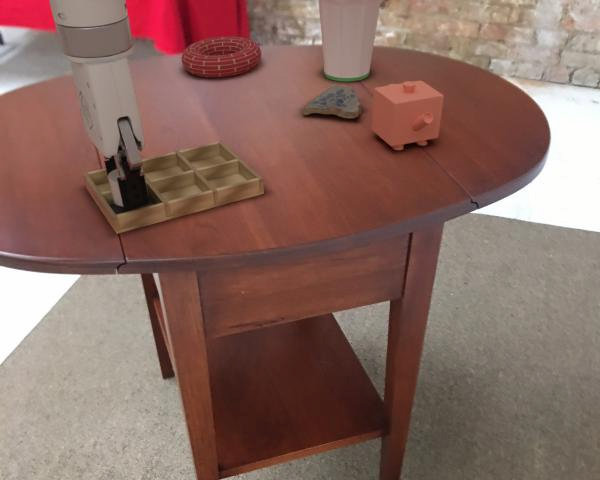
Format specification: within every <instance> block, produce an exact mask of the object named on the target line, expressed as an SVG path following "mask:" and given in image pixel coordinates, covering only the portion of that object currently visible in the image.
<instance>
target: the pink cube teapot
mask: <svg viewBox="0 0 600 480" xmlns="http://www.w3.org/2000/svg"><path fill="white" fill-rule="evenodd" d="M444 99H445V96H444V94H442V93H441V92H439V91H438V90H436V89H435V88H433V87H432V86H431V85H429V84H427V83H426V82H424V81H423V80H420V79H419V80H413V81H411V80H408V81H403V82H402V83H401V82H400V83H398V84H397V83H389V84H386V85H384V86H383V85H382V86H377V87H374V88H373V98H372V114H371V131H372V132H374V134H375V135H377V136H378V137H379V138H380V139H381V140H383V141H384V142H385V143H386V144H387V145H389V146H390V147H391V148H392V149H393V150H395V151H401V150H404V147H405V145H407V144H412V143H415V144H416V145H417V146H422V147H423V146H426V145H428V141H429V140H433V139H438V138H439V134H440V128H441V121H442V113H443V106H444Z"/></svg>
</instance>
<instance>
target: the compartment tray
mask: <svg viewBox="0 0 600 480" xmlns="http://www.w3.org/2000/svg"><path fill="white" fill-rule="evenodd" d="M141 160H142V168H143V172H144V175H145V181H146V186H147V191H148V197H149V204H148V205H145V206H141V207H138V208H134V209H130V210H126V209H125V208H124V207H122V206H118V205H116V204H115V203H114V201H113V197H112V193H111V189H110V184H109V180H108V175H107V171H106V167H104V168H101V169H97V170H91V171H87V172H83V173H82V176H83V179H84V184H85V187H86V190H87V191H88V193H89V194H90V196H91V197H92V199H93V200H94V202H95V204H96V205H97V206H98V208H99V210H100V211H101V212H102V214H103V216H104V218H105V219H106V220H107V221H108V223H109V225H110V226H111V228H112V229H113V231H114V232H115V234H116V235H118V234H122V233H125V232H129V231H133V230H137V229H141V228H143V227H148V226H151V225H155V224H159V223H162V222H167V221H169V220H174V219H177V218H181V217H185V216H188V215H191V214H195V213H199V212H202V211H206V210H210V209H214V208H217V207H221V206H225V205H228V204H232V203H235V202H240V201H243V200H247V199H251V198H255V197H258V196H261V195H262V196H263V195H264V194H265V188H264V178H263V177H262V176H261V175H260V174H259V173H257V171H256V170H254V169H253V168H252V167H251V166H250V165H249V164H248V163H247V162H245V161H244V159H242V158H241V157H240V156H239V155H238V154H236V152H235V151H233V150H232V149H231V148H230V147H229V146H228V145H227V144H226V143H225V142H223V141H222V140H219V141H214V142H211V143H205V144H202V145H196V146H193V147H189V148H185V149H179V150H177V151H172V152H169V153H163V154H160V155H156V156H151V157H147V158H143V159H142V158H141Z"/></svg>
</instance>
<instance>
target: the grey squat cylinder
mask: <svg viewBox="0 0 600 480" xmlns="http://www.w3.org/2000/svg"><path fill="white" fill-rule="evenodd" d="M144 177H145V175H144ZM117 178H119V174H118V170H117V169H115V170H113V171H111V172H110V173H109V174H108V180H109V184H110V189H111V193H112V197H113V201H114V203H115V204H116V205H118V206H122V207H123V203H122V199H121V195H120V190H119V186H118V181H117ZM145 182H146V181H145ZM146 187H147V186H146ZM147 192H148V191H147Z"/></svg>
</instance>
